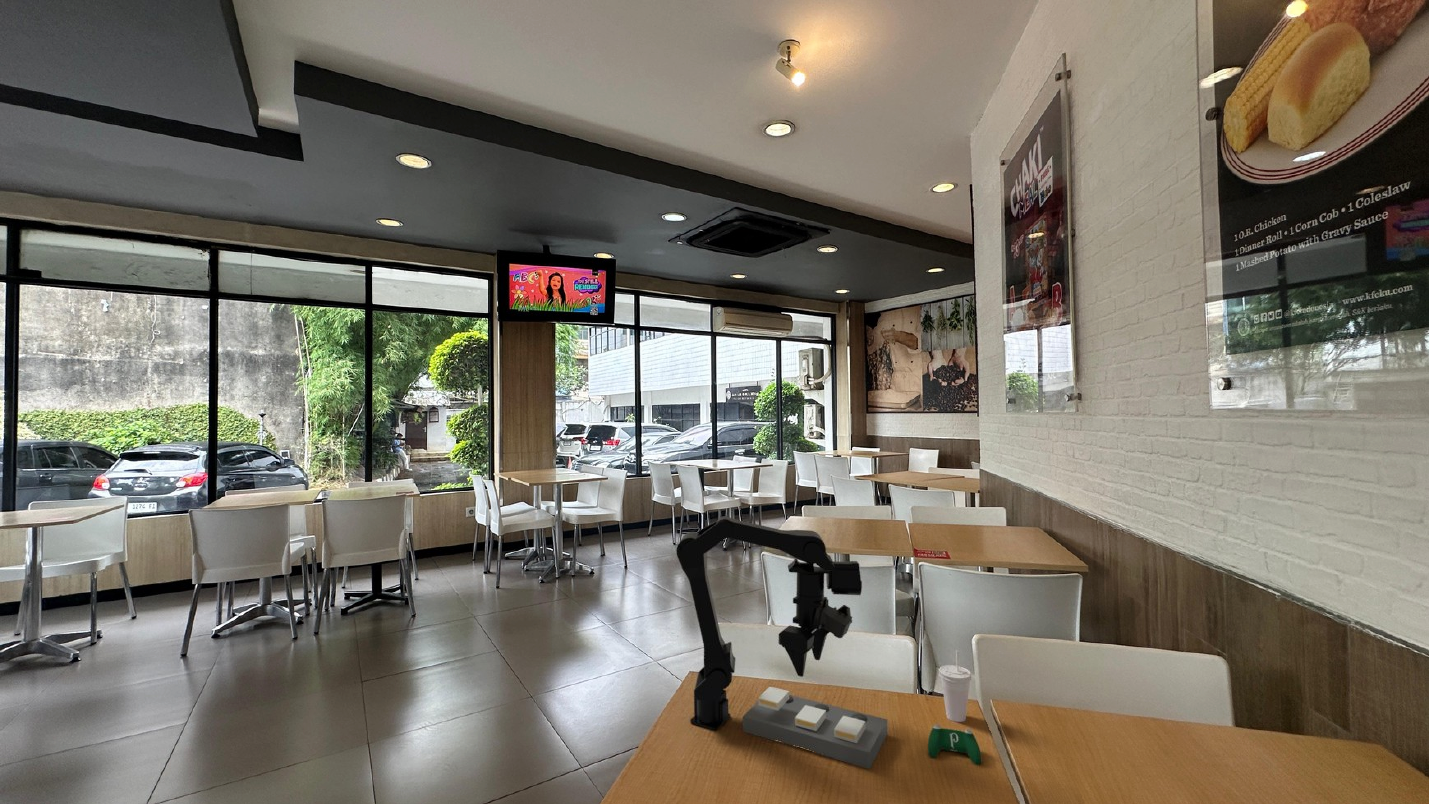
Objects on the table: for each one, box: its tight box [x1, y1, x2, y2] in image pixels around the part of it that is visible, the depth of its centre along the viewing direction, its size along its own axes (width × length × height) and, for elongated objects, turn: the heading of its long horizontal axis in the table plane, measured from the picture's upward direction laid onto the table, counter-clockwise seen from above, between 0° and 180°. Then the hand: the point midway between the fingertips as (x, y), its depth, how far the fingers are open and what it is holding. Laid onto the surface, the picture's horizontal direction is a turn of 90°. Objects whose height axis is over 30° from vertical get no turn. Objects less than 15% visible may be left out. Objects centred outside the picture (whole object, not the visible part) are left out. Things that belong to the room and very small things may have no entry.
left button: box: [757, 686, 790, 710], centre depth 120 cm, size 4×6×2 cm
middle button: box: [795, 705, 826, 731], centre depth 116 cm, size 4×6×2 cm
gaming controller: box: [927, 724, 982, 766], centre depth 110 cm, size 9×4×6 cm
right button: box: [834, 716, 865, 743], centre depth 112 cm, size 4×6×2 cm
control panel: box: [742, 694, 888, 770], centre depth 118 cm, size 26×13×3 cm, turn 60°
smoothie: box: [938, 650, 973, 723], centre depth 123 cm, size 6×6×14 cm
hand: (809, 667), depth 122 cm, fingers open, 9 cm apart
